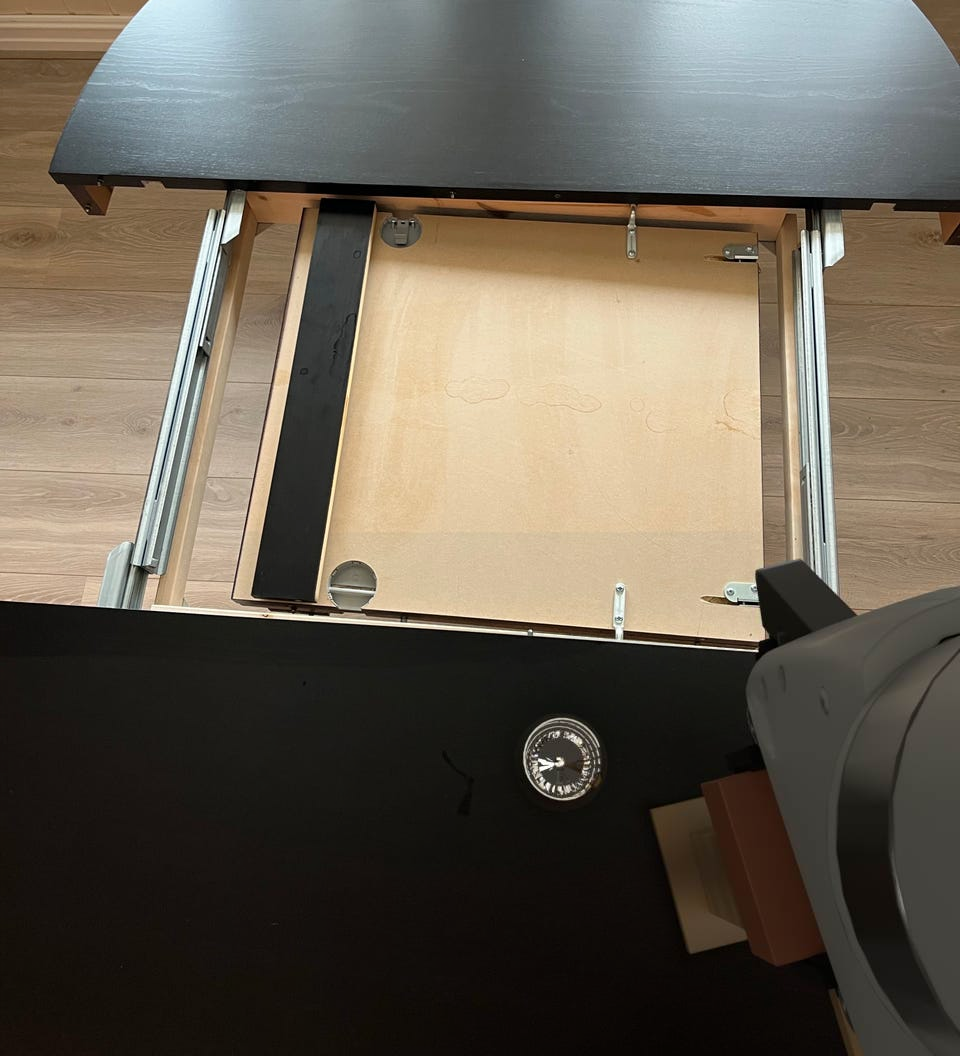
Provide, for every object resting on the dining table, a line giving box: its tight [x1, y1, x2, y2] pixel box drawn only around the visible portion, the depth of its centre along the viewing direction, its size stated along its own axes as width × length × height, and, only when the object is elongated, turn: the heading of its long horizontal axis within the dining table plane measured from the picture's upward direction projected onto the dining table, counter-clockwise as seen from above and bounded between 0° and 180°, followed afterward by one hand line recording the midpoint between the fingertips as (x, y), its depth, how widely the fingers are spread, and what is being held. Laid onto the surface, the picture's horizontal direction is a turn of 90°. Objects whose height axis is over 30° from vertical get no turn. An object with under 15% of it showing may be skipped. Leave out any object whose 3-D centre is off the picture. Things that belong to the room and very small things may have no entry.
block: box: [700, 769, 827, 967], centre depth 31 cm, size 5×5×3 cm
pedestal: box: [649, 795, 864, 1056], centre depth 52 cm, size 10×10×41 cm
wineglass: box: [513, 712, 609, 812], centre depth 68 cm, size 6×6×12 cm
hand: (806, 846), depth 33 cm, fingers closed on block, 5 cm apart
